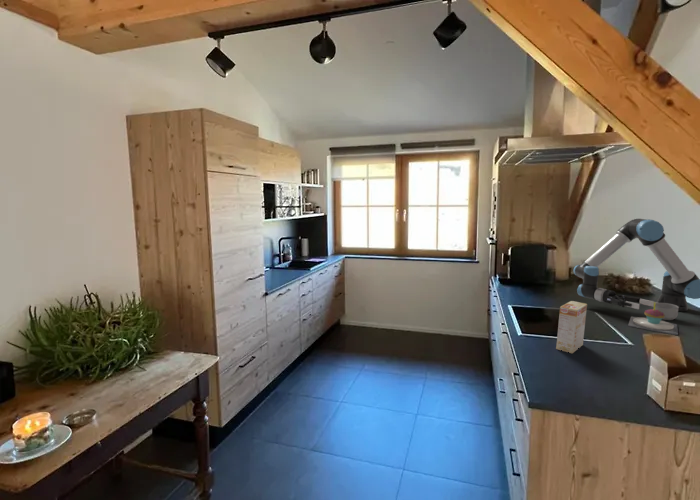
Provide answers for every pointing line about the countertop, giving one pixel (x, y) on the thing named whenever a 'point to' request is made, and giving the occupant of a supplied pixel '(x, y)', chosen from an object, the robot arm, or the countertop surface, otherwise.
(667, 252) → the robot arm
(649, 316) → the cupcake
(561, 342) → the coffeecake box
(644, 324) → the dish
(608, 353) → the countertop surface
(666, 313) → the teacup
